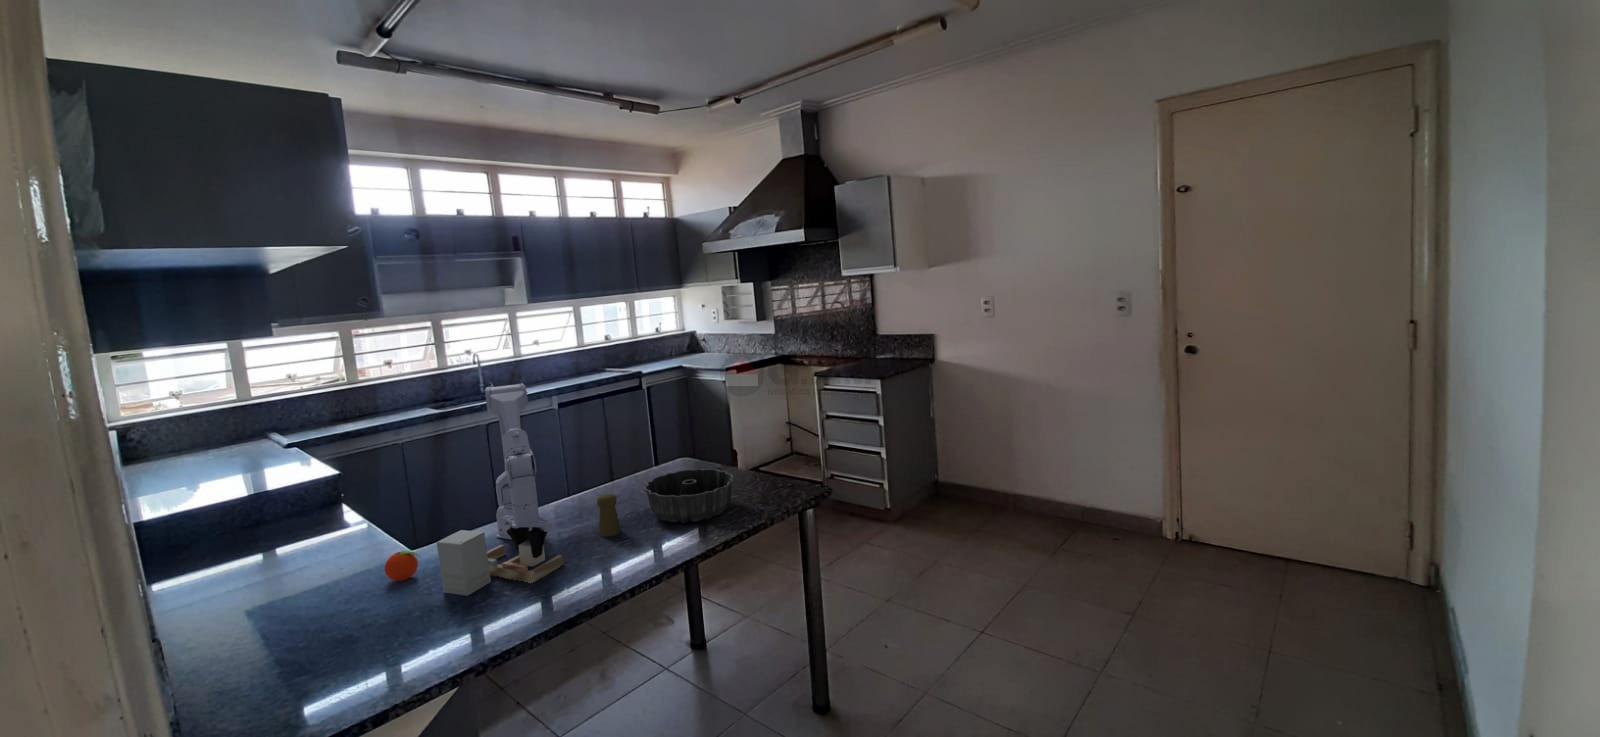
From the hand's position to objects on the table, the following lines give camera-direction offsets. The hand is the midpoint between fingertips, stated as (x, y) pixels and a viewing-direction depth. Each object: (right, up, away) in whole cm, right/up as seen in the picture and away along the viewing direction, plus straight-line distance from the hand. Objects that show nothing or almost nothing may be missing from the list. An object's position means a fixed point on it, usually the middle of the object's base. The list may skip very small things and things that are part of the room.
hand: (530, 555), depth 159 cm
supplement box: (-12, -6, -7) cm, 15 cm away
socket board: (-4, -4, +3) cm, 6 cm away
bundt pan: (+34, +2, +34) cm, 48 cm away
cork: (+13, 0, +22) cm, 26 cm away
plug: (0, -2, +1) cm, 2 cm away
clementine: (-30, -6, -1) cm, 31 cm away
